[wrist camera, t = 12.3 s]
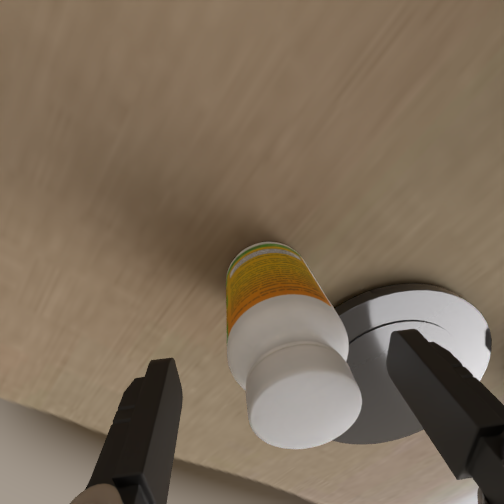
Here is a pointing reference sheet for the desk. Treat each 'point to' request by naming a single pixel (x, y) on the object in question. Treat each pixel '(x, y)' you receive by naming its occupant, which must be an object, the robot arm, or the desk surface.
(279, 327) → the supplement bottle
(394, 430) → the plate
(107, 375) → the desk surface
